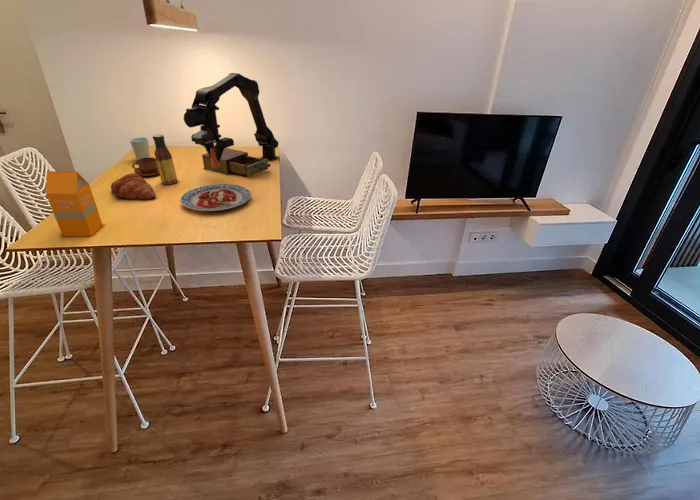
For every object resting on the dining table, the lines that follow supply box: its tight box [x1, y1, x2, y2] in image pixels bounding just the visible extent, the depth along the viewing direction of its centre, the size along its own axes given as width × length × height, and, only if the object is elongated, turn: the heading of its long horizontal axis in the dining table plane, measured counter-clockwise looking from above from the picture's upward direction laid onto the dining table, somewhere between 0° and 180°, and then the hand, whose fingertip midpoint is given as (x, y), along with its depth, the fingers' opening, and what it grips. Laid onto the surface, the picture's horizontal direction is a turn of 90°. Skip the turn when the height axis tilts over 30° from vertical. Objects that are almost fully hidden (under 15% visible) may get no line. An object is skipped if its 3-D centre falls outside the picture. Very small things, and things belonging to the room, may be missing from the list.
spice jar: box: [210, 147, 221, 168], centre depth 163 cm, size 3×3×8 cm
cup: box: [129, 136, 151, 162], centre depth 183 cm, size 8×8×10 cm
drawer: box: [227, 155, 272, 178], centre depth 175 cm, size 18×13×5 cm
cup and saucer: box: [131, 156, 160, 177], centre depth 170 cm, size 12×12×6 cm
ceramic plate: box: [179, 183, 252, 212], centre depth 147 cm, size 26×26×3 cm
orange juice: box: [45, 170, 103, 237], centre depth 119 cm, size 8×9×20 cm
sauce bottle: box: [152, 133, 178, 185], centre depth 158 cm, size 7×6×20 cm
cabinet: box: [201, 147, 249, 175], centre depth 180 cm, size 15×15×7 cm
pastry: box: [110, 172, 156, 201], centre depth 149 cm, size 17×15×8 cm
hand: (215, 160), depth 164 cm, fingers closed on spice jar, 3 cm apart
